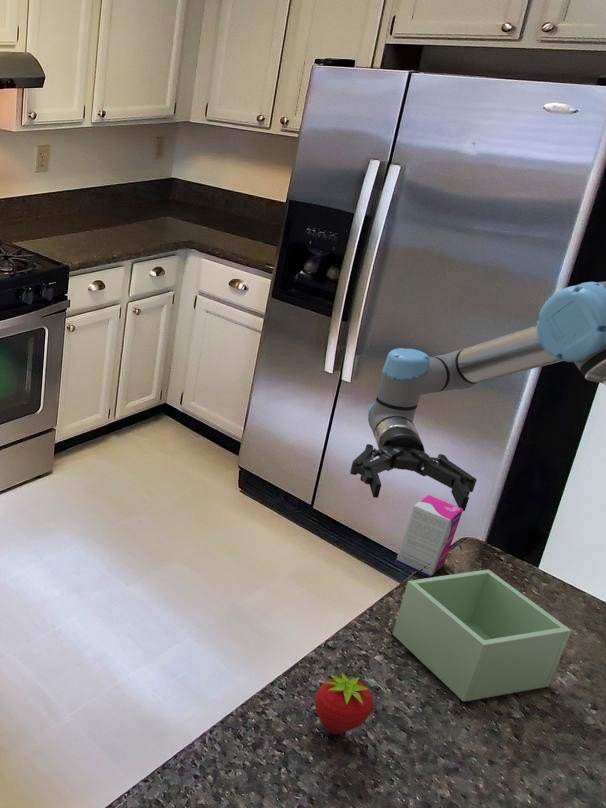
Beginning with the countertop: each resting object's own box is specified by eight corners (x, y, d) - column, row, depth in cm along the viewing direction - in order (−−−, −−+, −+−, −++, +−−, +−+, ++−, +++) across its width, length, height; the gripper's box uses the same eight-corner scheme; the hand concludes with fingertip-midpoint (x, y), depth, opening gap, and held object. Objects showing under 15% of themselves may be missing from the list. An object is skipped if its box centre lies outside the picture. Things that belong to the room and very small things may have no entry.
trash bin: (470, 621, 121) (488, 569, 117) (548, 686, 109) (572, 630, 105) (392, 634, 119) (407, 580, 114) (463, 702, 106) (483, 645, 102)
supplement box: (431, 579, 131) (450, 520, 126) (394, 562, 135) (410, 504, 130) (446, 565, 134) (464, 507, 129) (409, 549, 138) (425, 493, 133)
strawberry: (375, 740, 101) (394, 680, 97) (332, 760, 98) (349, 700, 94) (337, 707, 106) (353, 649, 101) (295, 726, 103) (310, 667, 99)
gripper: (465, 470, 155) (495, 528, 137) (326, 450, 162) (338, 503, 144) (476, 435, 152) (508, 490, 134) (334, 417, 159) (346, 467, 141)
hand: (420, 497), depth 139 cm, fingers open, 13 cm apart
